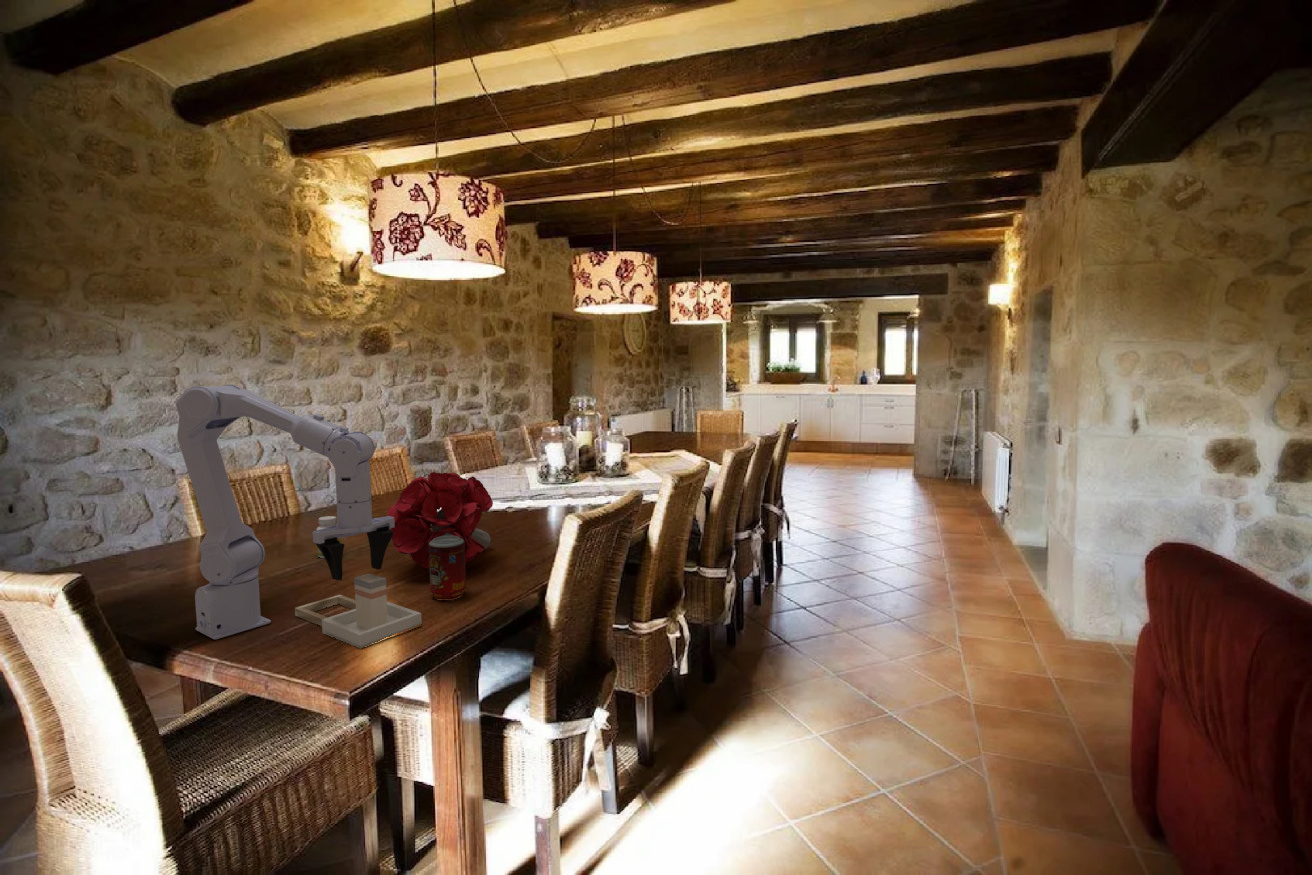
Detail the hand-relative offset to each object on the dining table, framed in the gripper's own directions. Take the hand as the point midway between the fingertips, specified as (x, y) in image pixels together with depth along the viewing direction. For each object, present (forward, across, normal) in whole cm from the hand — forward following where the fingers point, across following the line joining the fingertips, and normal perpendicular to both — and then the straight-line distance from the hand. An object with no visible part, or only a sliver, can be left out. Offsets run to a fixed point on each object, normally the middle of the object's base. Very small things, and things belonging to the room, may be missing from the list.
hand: (357, 573), depth 120 cm
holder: (+10, 0, +9) cm, 14 cm away
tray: (+10, 0, -4) cm, 11 cm away
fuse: (+9, 0, -3) cm, 10 cm away
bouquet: (+10, +34, +17) cm, 39 cm away
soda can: (+10, +19, 0) cm, 22 cm away
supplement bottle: (+10, +21, +49) cm, 54 cm away
